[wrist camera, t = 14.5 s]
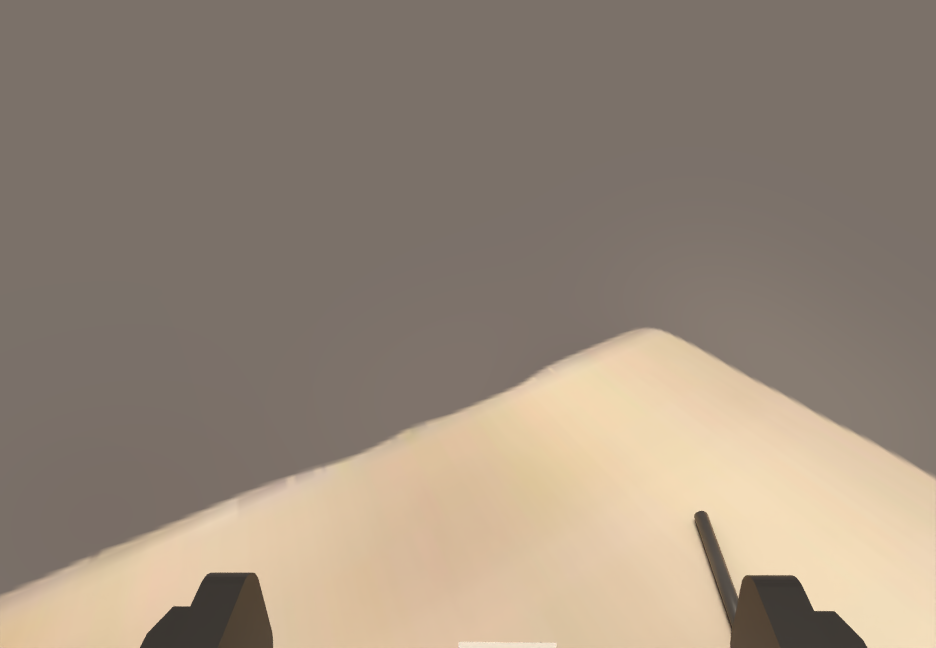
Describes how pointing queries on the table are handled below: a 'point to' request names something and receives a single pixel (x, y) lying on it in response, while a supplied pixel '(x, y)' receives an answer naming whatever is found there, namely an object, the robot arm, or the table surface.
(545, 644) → the charger
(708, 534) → the strip
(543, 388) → the table surface
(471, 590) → the table surface
